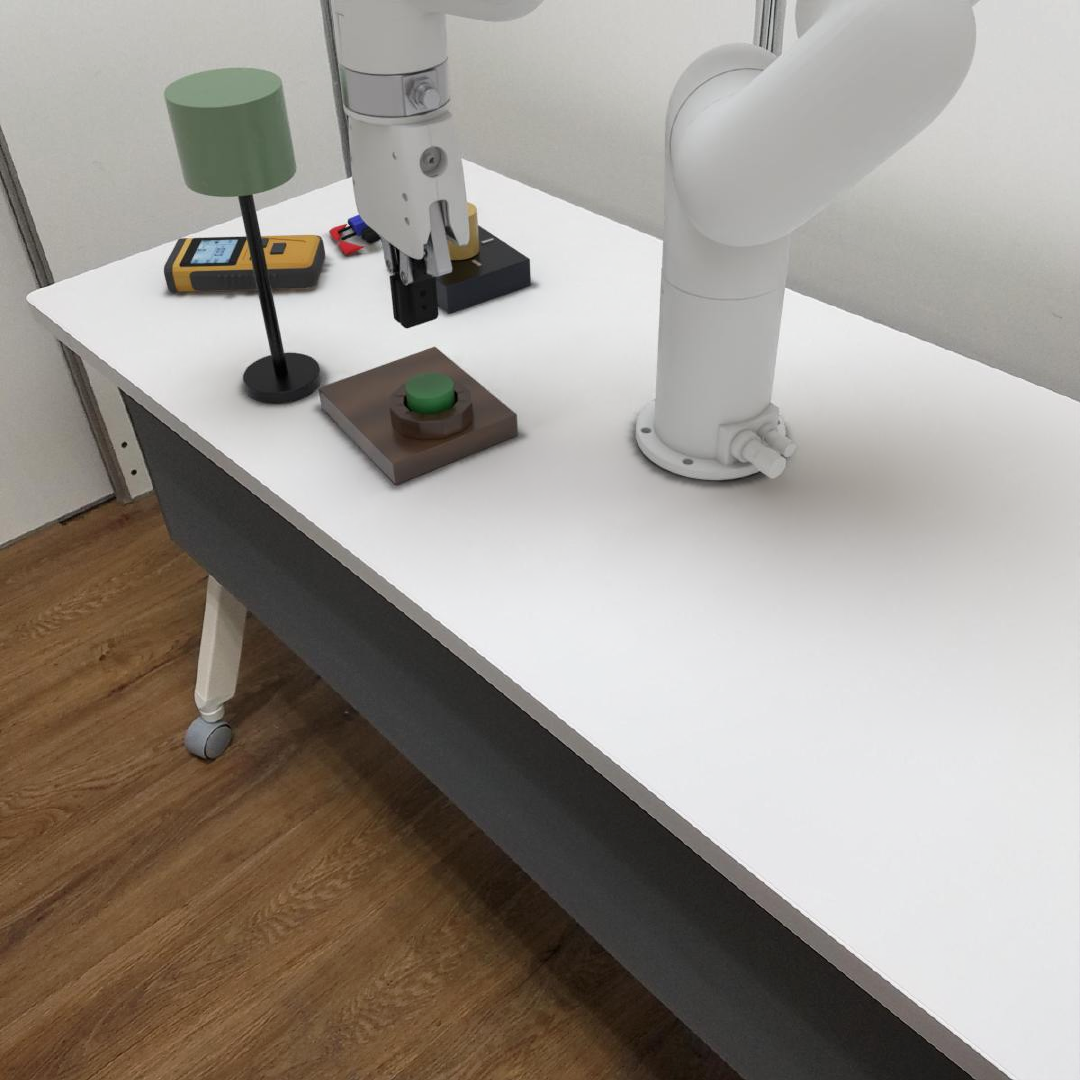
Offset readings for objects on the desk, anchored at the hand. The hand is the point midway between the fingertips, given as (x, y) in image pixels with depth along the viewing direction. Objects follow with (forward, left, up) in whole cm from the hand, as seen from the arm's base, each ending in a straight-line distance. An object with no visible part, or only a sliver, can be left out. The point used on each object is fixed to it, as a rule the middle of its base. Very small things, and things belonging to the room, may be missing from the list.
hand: (416, 319), depth 91 cm
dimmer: (+24, -17, -8) cm, 31 cm away
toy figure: (+38, -17, -12) cm, 43 cm away
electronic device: (+38, +1, -12) cm, 40 cm away
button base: (+3, 0, -12) cm, 12 cm away
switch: (0, 0, -8) cm, 8 cm away
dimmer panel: (+24, -17, -12) cm, 32 cm away
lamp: (+16, +7, -12) cm, 21 cm away
